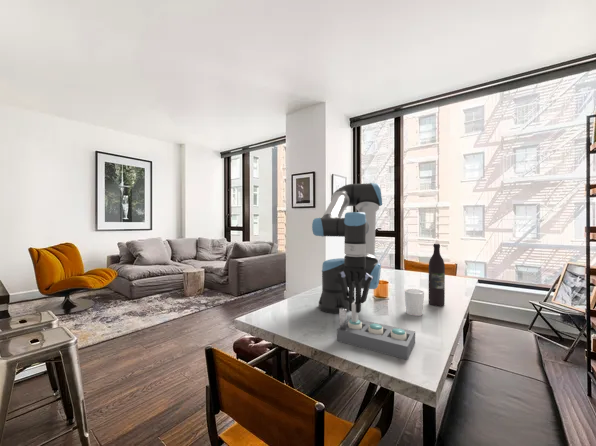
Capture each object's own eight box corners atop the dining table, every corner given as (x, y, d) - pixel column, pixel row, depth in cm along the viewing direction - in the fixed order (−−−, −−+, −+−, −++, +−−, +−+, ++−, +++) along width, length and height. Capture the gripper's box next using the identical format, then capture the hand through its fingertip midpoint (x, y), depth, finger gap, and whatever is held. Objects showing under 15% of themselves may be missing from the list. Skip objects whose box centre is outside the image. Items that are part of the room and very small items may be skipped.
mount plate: (337, 340, 92) (337, 329, 92) (351, 327, 103) (351, 317, 103) (407, 359, 79) (407, 346, 79) (415, 343, 90) (415, 331, 90)
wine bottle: (429, 305, 129) (429, 244, 128) (427, 301, 135) (428, 243, 135) (445, 307, 126) (446, 244, 126) (443, 303, 133) (443, 243, 133)
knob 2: (389, 347, 86) (389, 331, 86) (392, 341, 90) (392, 326, 90) (404, 351, 84) (404, 335, 84) (407, 345, 88) (407, 330, 88)
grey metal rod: (338, 329, 92) (338, 309, 92) (341, 326, 94) (341, 307, 94) (344, 330, 91) (344, 310, 91) (347, 328, 93) (347, 308, 93)
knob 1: (346, 336, 95) (346, 322, 95) (351, 331, 99) (351, 317, 99) (359, 339, 92) (359, 325, 92) (363, 334, 96) (363, 320, 96)
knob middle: (366, 341, 91) (366, 326, 90) (371, 336, 95) (371, 322, 94) (380, 345, 88) (380, 330, 88) (384, 339, 92) (384, 325, 92)
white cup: (426, 317, 114) (426, 294, 114) (406, 315, 116) (406, 293, 116) (421, 310, 122) (421, 289, 122) (403, 309, 124) (403, 288, 123)
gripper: (333, 255, 95) (333, 320, 96) (369, 257, 88) (369, 328, 88) (342, 252, 102) (342, 314, 102) (376, 255, 94) (376, 321, 95)
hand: (354, 320), depth 95 cm, fingers closed
